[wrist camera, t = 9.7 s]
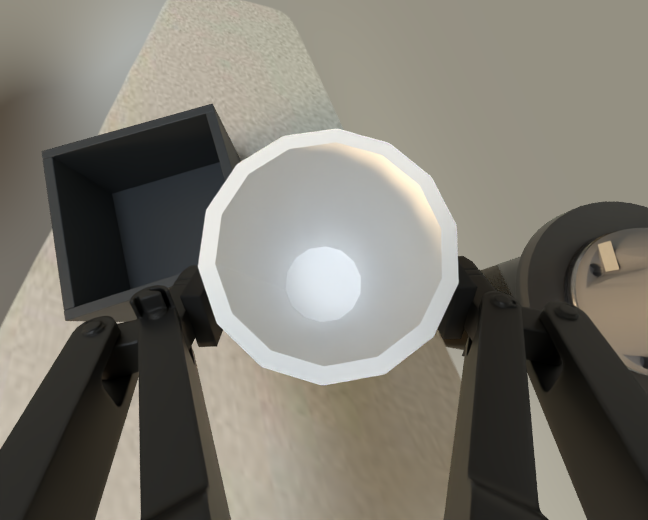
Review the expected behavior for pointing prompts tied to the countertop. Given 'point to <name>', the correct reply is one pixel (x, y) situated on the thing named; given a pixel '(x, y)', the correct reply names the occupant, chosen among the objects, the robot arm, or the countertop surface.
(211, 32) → the countertop surface
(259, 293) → the foam cup
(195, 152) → the dark grey open box
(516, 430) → the robot arm
